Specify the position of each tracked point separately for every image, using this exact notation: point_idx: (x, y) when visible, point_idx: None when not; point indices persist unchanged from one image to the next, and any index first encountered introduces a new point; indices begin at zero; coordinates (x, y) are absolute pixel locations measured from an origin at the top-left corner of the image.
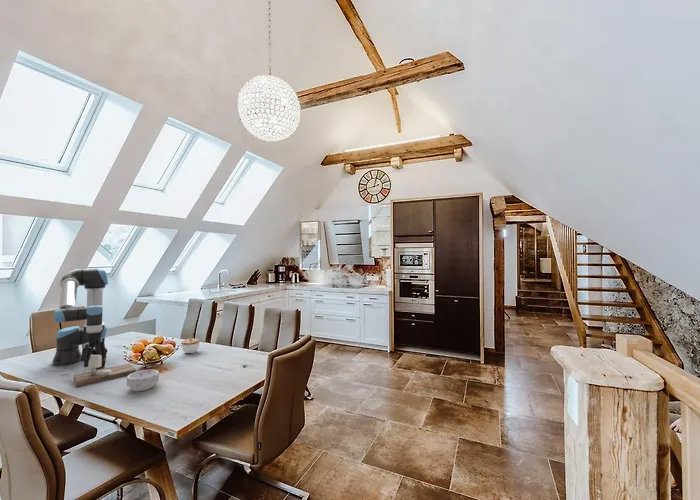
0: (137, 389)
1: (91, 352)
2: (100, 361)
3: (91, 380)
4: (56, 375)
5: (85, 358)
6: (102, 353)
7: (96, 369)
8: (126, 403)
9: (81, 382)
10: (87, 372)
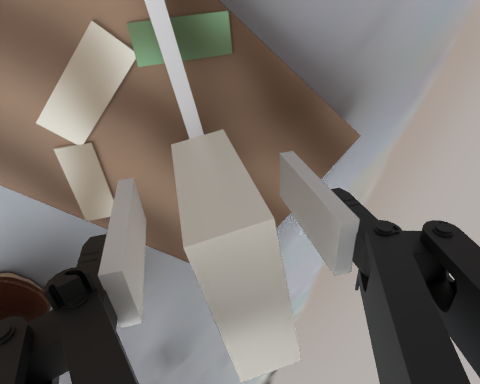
0: None
1: (408, 350)
2: (191, 169)
3: (295, 76)
4: (190, 370)
5: (476, 252)
6: (68, 319)
7: (40, 288)
8: None
9: (339, 117)
10: (166, 250)
